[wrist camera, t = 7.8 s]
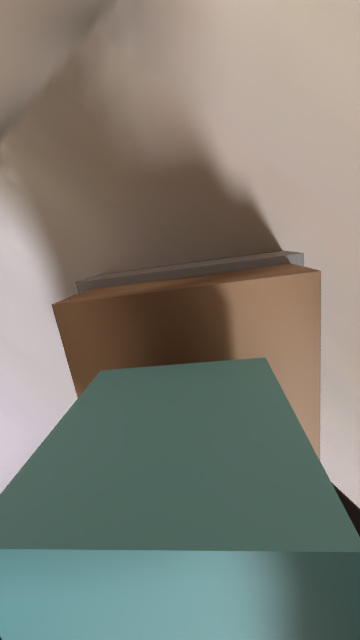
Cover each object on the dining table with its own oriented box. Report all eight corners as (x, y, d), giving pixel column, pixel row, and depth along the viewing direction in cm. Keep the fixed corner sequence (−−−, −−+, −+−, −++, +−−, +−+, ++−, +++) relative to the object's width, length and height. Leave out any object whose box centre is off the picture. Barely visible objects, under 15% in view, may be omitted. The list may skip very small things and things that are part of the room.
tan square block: (290, 263, 11) (320, 270, 8) (295, 441, 13) (319, 495, 11) (87, 289, 12) (51, 304, 9) (125, 450, 15) (106, 501, 12)
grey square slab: (280, 250, 14) (303, 253, 11) (285, 410, 17) (305, 451, 14) (103, 273, 15) (76, 282, 12) (134, 419, 18) (119, 459, 15)
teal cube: (265, 357, 8) (366, 552, 3) (271, 492, 9) (347, 777, 4) (100, 370, 8) (-44, 548, 3) (129, 494, 10) (54, 746, 5)
